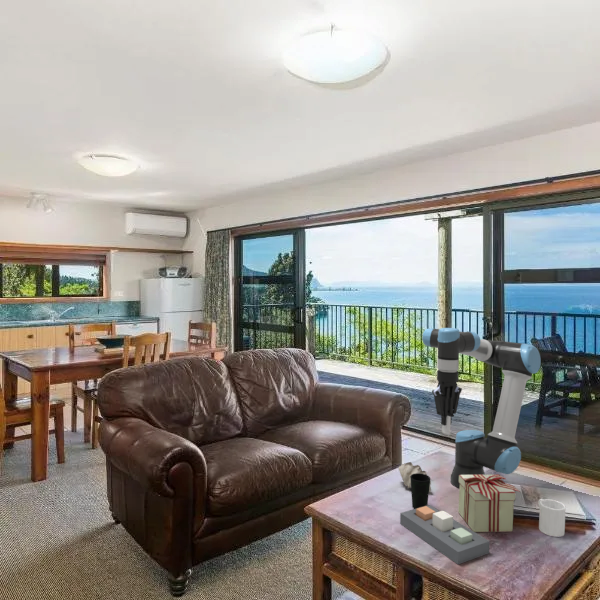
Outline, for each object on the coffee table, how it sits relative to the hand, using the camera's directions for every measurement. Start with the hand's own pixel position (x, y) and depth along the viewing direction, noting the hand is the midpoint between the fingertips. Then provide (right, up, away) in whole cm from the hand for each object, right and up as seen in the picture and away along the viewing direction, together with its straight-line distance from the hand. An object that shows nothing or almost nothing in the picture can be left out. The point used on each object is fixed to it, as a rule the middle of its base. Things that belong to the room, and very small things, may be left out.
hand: (446, 433), depth 179 cm
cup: (-7, -32, +10) cm, 34 cm away
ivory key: (-5, -30, -12) cm, 32 cm away
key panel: (-5, -33, -11) cm, 35 cm away
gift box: (+15, -33, -2) cm, 36 cm away
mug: (+36, -33, -4) cm, 49 cm away
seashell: (-5, -31, +28) cm, 42 cm away
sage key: (-1, -32, -19) cm, 38 cm away
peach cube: (-9, -32, -4) cm, 33 cm away
